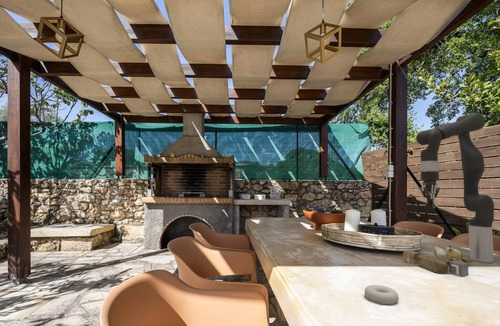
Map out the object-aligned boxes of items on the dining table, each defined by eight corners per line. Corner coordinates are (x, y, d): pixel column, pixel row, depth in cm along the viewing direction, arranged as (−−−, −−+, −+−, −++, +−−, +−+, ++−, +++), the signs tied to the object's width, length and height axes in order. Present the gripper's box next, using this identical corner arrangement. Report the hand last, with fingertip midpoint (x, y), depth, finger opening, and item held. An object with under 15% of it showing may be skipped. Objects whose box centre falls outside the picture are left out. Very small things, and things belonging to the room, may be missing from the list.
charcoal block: (455, 272, 119) (454, 260, 120) (468, 275, 115) (468, 263, 115) (448, 273, 117) (448, 261, 117) (462, 277, 112) (461, 264, 113)
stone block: (437, 274, 116) (437, 262, 116) (416, 266, 127) (416, 254, 128) (450, 274, 116) (449, 261, 117) (428, 266, 128) (428, 254, 128)
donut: (374, 291, 96) (358, 297, 90) (374, 281, 96) (358, 286, 90) (404, 301, 88) (389, 309, 82) (404, 290, 88) (389, 297, 82)
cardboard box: (409, 260, 136) (409, 250, 136) (420, 263, 132) (419, 252, 132) (403, 261, 134) (403, 251, 134) (413, 264, 129) (413, 253, 130)
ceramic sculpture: (437, 241, 142) (474, 248, 130) (437, 258, 142) (473, 267, 130) (429, 243, 136) (467, 251, 124) (429, 261, 135) (466, 271, 123)
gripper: (429, 171, 140) (430, 206, 139) (413, 170, 134) (414, 206, 133) (445, 171, 133) (446, 207, 132) (429, 169, 127) (430, 207, 126)
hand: (430, 206), depth 132 cm, fingers closed
